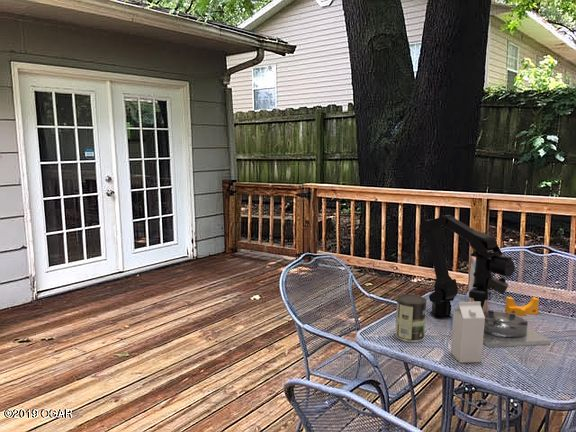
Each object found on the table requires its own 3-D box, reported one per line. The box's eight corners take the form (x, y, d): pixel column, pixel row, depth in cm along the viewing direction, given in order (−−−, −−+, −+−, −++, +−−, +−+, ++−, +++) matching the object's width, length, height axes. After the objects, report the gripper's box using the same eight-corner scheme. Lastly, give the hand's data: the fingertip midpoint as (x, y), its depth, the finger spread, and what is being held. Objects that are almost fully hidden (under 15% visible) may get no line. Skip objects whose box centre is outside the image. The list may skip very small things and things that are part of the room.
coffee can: (423, 332, 175) (425, 295, 172) (425, 343, 165) (427, 304, 162) (394, 329, 177) (396, 293, 174) (395, 341, 167) (396, 302, 164)
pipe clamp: (509, 315, 192) (510, 300, 191) (505, 311, 196) (506, 296, 195) (539, 316, 192) (541, 301, 191) (534, 312, 196) (536, 297, 195)
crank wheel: (525, 323, 179) (527, 299, 177) (528, 340, 164) (530, 315, 162) (477, 316, 186) (479, 293, 184) (475, 332, 170) (477, 307, 169)
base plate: (488, 347, 162) (489, 334, 162) (456, 321, 185) (457, 310, 184) (550, 344, 165) (551, 332, 164) (511, 319, 188) (512, 308, 187)
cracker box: (487, 313, 194) (491, 263, 190) (471, 312, 195) (475, 262, 192) (482, 302, 207) (485, 255, 204) (467, 300, 208) (470, 254, 205)
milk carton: (450, 353, 158) (454, 298, 154) (471, 352, 158) (475, 297, 155) (459, 363, 151) (464, 306, 148) (481, 362, 151) (486, 305, 148)
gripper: (505, 279, 160) (501, 323, 162) (510, 268, 176) (506, 309, 178) (470, 274, 165) (466, 317, 167) (478, 264, 182) (474, 303, 184)
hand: (480, 311), depth 174 cm, fingers closed
